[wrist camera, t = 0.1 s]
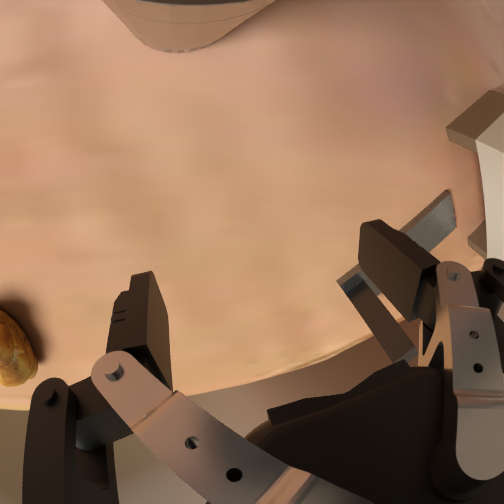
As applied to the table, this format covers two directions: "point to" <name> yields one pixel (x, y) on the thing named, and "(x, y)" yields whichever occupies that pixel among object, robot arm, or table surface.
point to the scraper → (365, 291)
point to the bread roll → (15, 353)
